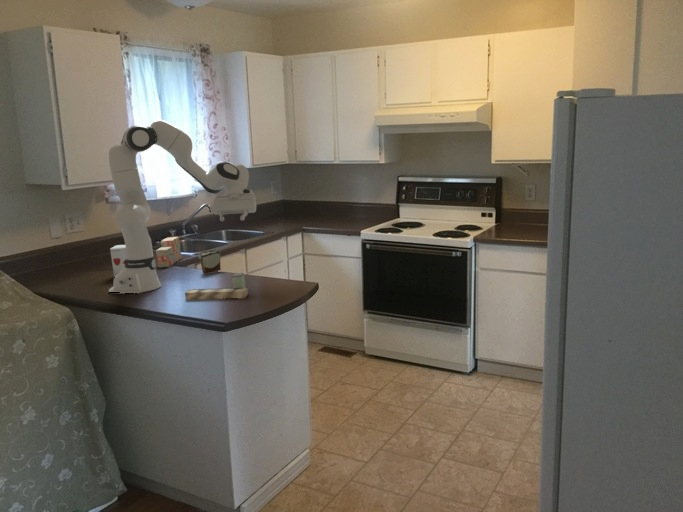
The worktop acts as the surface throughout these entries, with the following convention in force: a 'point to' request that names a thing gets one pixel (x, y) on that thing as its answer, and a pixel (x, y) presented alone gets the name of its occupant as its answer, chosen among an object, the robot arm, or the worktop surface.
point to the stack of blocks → (168, 252)
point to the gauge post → (238, 280)
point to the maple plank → (216, 293)
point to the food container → (210, 261)
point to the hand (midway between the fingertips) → (231, 220)
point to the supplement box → (118, 258)
